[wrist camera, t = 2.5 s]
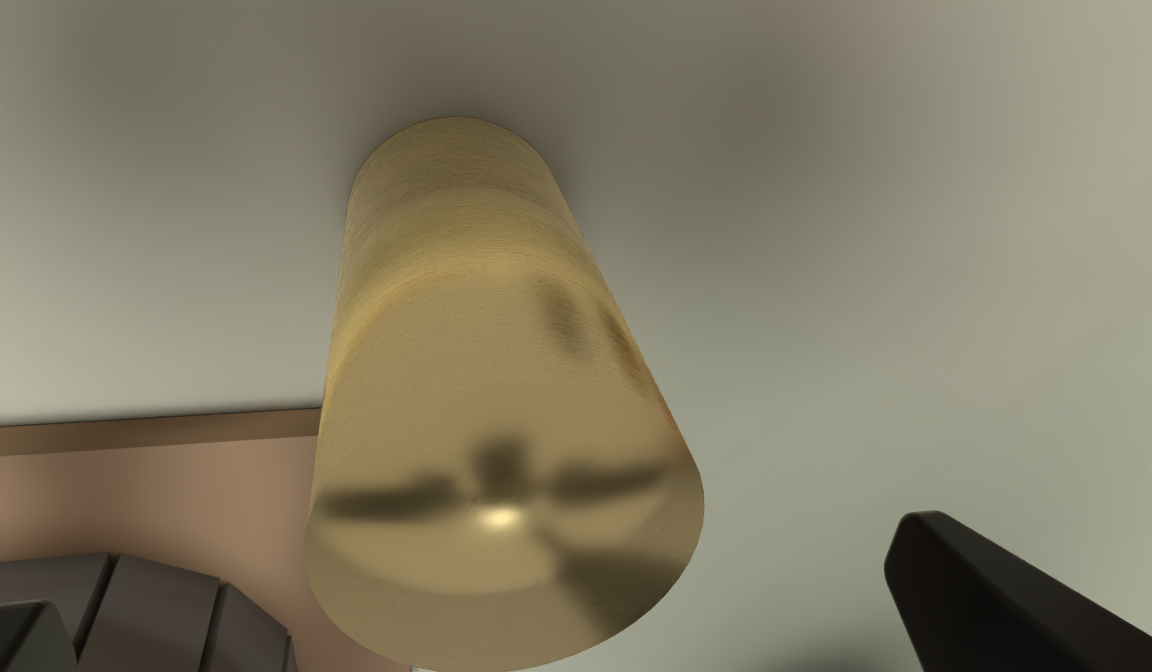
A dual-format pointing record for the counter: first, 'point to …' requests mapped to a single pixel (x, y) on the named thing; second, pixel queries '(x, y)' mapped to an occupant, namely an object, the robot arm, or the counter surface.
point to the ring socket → (173, 542)
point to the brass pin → (486, 421)
